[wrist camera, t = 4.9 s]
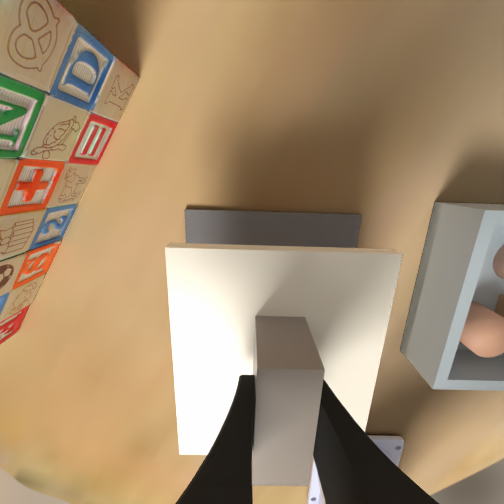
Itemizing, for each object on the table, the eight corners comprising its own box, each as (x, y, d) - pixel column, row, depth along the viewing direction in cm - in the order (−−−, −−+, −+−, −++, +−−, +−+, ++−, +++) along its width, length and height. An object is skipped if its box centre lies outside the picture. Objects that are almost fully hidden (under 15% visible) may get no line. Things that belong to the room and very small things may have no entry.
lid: (350, 434, 17) (390, 536, 12) (185, 431, 17) (159, 534, 12) (387, 245, 13) (464, 287, 8) (173, 239, 13) (130, 278, 8)
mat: (334, 378, 22) (335, 381, 22) (192, 376, 22) (192, 378, 22) (359, 214, 18) (361, 214, 18) (185, 209, 18) (184, 209, 18)
